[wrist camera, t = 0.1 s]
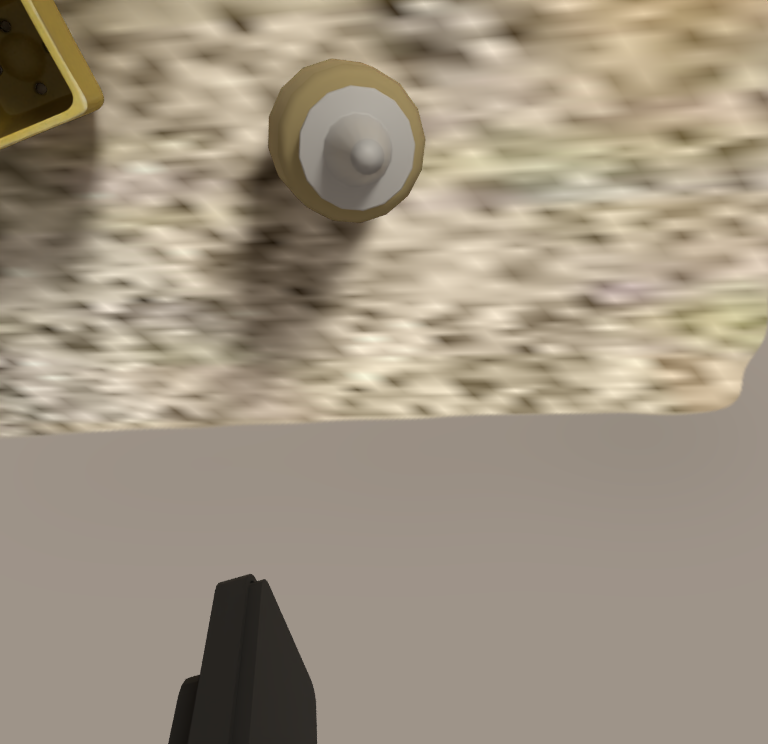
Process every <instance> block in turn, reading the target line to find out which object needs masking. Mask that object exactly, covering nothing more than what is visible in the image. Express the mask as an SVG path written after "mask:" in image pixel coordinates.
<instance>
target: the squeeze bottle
mask: <svg viewBox="0 0 768 744" xmlns="http://www.w3.org/2000/svg"><path fill="white" fill-rule="evenodd" d="M424 147H425V136H424V132H423V128H422V124H421V120H420V116H419V112H418V109H417V107H416V106H415V104H414V103H413V102H412V100H411V99H410V97H409V96H408V94H407V93H406V92H405V90H404V89H403V87H402V86H401V85H400V83H398V82H396V81H395V80H393V79H392V78H390V77H388V76H387V75H385V74H384V73H382V72H380V71H379V70H377V69H376V68H374V67H371V66H369V65H366V64H364V63H361V62H353V61H346V60H338V59H329V60H326V61H323V62H319V63H316V64H313V65H310V66H307V67H304V68H302V69H301V70H300V71H299V72H298V73H297V74H296V75H295V76H294V77H293V78H292V79H291V80H290V81H289V82H288V83H286V84H285V85H284V86H283V87H282V88H281V90H280V92H279V95H278V97H277V99H276V102H275V104H274V106H273V109H272V111H271V113H270V116H269V138H268V148H269V151H270V154H271V157H272V159H273V162H274V165H275V168H276V171H277V173H278V176H279V177H280V179H281V180H282V181H283V182H284V183H285V184H286V185H287V187H288V188H289V189H290V190H291V191H292V192H293V194H294V195H295V196H296V197H297V198H298V199H299V200H300V201H301V202H302V203H303V204H304V205H305V206H306V207H308V208H309V209H311V210H313V211H315V212H317V213H319V214H321V215H323V216H325V217H327V218H329V219H331V220H333V221H344V222H356V223H361V222H364V221H367V220H371V219H374V218H377V217H380V216H383V215H386V214H387V213H389V212H390V211H391V210H392V209H393V208H394V207H396V206H397V205H398V204H399V203H400V202H401V201H403V200H404V199H405V198H406V197H407V196H408V195H409V193H410V191H411V189H412V187H413V185H414V183H415V182H416V180H417V178H418V176H419V174H420V172H421V170H422V163H423V155H424Z"/></svg>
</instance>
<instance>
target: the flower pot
mask: <svg viewBox="0 0 768 744" xmlns="http://www.w3.org/2000/svg"><path fill="white" fill-rule="evenodd" d="M3 20H6V21H8V22H9V23H10V25H11V29H10V31H9V32H4V31H3V30H2V29H1V28H0V66H1V67H2V69H3V70H2V73H1V74H0V150H1V149H4V148H6V147H8V146H11V145H13V144H15V143H18V142H20V141H22V140H25V139H27V138H30V137H32V136H34V135H37V134H39V133H42V132H44V131H47V130H49V129H51V128H54V127H56V126H59V125H61V124H64V123H66V122H69V121H71V120H74V119H77V118H79V117H81V116H84V115H86V114H89V113H91V112H94V111H96V110H98V109H99V108H100V107H101V106H102V105H103V102H104V97H103V93H102V91H101V89H100V87H99V85H98V83H97V81H96V80H95V78H94V76H93V74H92V72H91V70H90V68H89V67H88V65H87V63H86V61H85V59H84V57H83V56H82V54H81V52H80V50H79V48H78V46H77V44H76V43H75V41H74V39H73V37H72V35H71V33H70V31H69V30H68V28H67V26H66V24H65V22H64V20H63V18H62V16H61V14H60V12H59V10H58V9H57V7H56V5H55V3H54V1H53V0H0V22H1V21H3ZM45 45H46V47H47V49H48V51H49V52H48V51H47V50H46V48H45ZM37 83H42V84H44V85H45V86H46V89H47V91H46V93H44V94H40V93H38V92H37V90H36V84H37Z"/></svg>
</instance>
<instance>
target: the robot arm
mask: <svg viewBox="0 0 768 744" xmlns="http://www.w3.org/2000/svg"><path fill="white" fill-rule="evenodd" d="M168 744H317V723H316V699H315V693H314V688H313V684H312V681H311V679H310V677H309V674H308V672H307V670H306V668H305V665H304V663H303V661H302V658H301V656H300V654H299V652H298V649H297V647H296V645H295V643H294V641H293V638H292V636H291V634H290V631H289V629H288V627H287V624H286V622H285V620H284V618H283V615H282V613H281V611H280V609H279V606H278V604H277V602H276V599H275V597H274V595H273V593H272V590H271V588H270V586H269V584H268V582H267V581H266V580H265V579H263V580H260V581H256V579H255V577H254V576H253V575H252V574H249V575H245V576H242V577H238V578H235V579H231V580H227V581H224V582H220V583H218V585H217V586H216V590H215V594H214V600H213V605H212V611H211V616H210V622H209V628H208V633H207V639H206V645H205V650H204V655H203V661H202V667H201V672H200V675H197V676H193V677H190V678H188V679H186V680H185V681H184V683H183V684H182V686H181V689H180V692H179V695H178V700H177V705H176V709H175V714H174V720H173V724H172V728H171V733H170V738H169V743H168Z"/></svg>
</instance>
